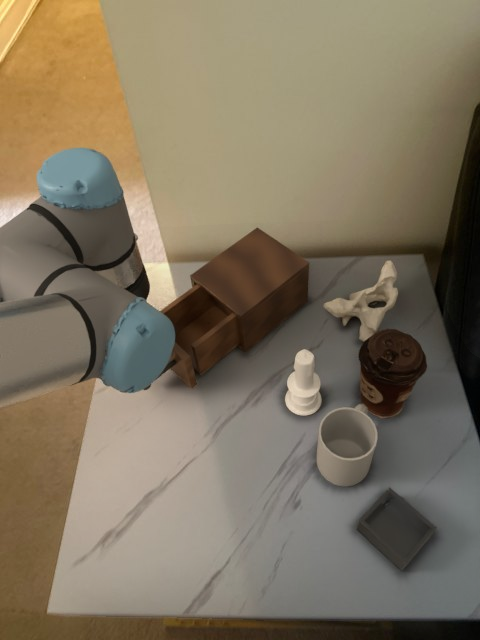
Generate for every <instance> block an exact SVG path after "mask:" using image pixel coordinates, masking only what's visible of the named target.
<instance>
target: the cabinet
mask: <svg viewBox="0 0 480 640" xmlns="http://www.w3.org/2000/svg"><path fill="white" fill-rule="evenodd" d="M189 277H190V283H191V288H192V287H194V286H195V285H197V284H198V285H199V286H200V287H201V288H203V289H204V290H205V291H206V292H208V293H209V294H210V295H211V296H213V297H214V298H215V299H216V300H218V301H219V302H220V303H221V304H222V305H224V306H225V307H226V308H227V309H229V310H230V311H231V312H232V313H234V314H235V315H236V316H237V317H238V322H239V330H240V338H241V343H240V344H239V345H238V346H236V347H237V348H238V349H239V350H241V351H242V352H243V353H244V354H246V353H247V352H249V351H250V350H251V349H252V348H254V347H255V346H256V345H257V344H259V342H261V341H262V340H263V339H264V338H267V336H268V335H269V334H270V333H272V332H273V331H274V330H275V329H277V328H278V327H279V326H280V325H282V323H284V322H285V321H286V320H288V319H289V318H290V317H291V316H292V315H294V314H295V313H296V312H297V311H298V310H300V309H301V308H302V307H303V306H304V305H306V304H307V303H308V302H309V285H310V284H309V283H310V281H309V280H310V262H309V261H308V260H307V259H305V258H304V257H302V256H301V255H299V254H298V253H297V252H295V251H293V250H292V249H290V248H289V247H287V246H286V245H285V244H283V243H282V242H280V241H278V240H276V238H274V237H273V236H271V235H270V234H268V233H266V232H265V231H264V230H262V229H260V228H259V227H258V226H257V227H255V228H254V229H253V230H251V231H250V232H248V233H246V235H244V236H243V237H241V238H240V239H239V240H237V241H236V242H235V243H233V244H232V245H230V246H229V247H228V248H226V249H225V250H223V251H222V252H221V253H219V254H218V255H216V256H215V257H214V258H212V259H211V260H209V261H208V262H207V263H205V264H204V265H202V266H201V267H200V268H198V269H197V270H196V271H194V272H193V273H192V274H190V275H189Z"/></svg>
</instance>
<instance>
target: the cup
mask: <svg viewBox="0 0 480 640" xmlns="http://www.w3.org/2000/svg"><path fill="white" fill-rule="evenodd" d="M368 413H369V411H368V408H367V407H366V406H365V405H364V404H362V403H358V404H357V405H356V406H355V407H354V408H353V407H345V406H344V407H338V408H335V409H333V410H330V411H329V412H327V413H326V414H325V415H324V416H323V418H322V419H321V421H320V423H319V427H318V436H317V446H316V447H317V449H316V466H317V468H318V471H319V473H320V474H321V476H322V477H323V478H324V479H325V480H326V481H327V482H329V483H331V484H332V485H336V486H339V487H351V486H355V485H357V484H359V483H361V482H362V481H363V480H364V479H365V478H366V476H367V475H368V473H369V471H370V468H371V464H372V462H373V461H372V460H373V456H374V454H375V449H376V446H377V442H378V439H379V438H378V430H377V426H376V424H375V422H374V421H373V419H372V418H371V417H370V416H368Z"/></svg>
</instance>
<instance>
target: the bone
mask: <svg viewBox="0 0 480 640" xmlns="http://www.w3.org/2000/svg"><path fill="white" fill-rule="evenodd" d="M397 272H398V271H397V269H396V266H395V264H394V263H393V261H392V260H386V261H385V263H384V265H383V266H382V268H381V270H380V275H379V278H378V281H377V283H376V284H375V285H374V286H372V287H367V288H364V289H363V290H359V291H357V292H352V293H350V294H349V299H345V298H342V297H336V298H334V299H333V300H331V301H327V302H324V304H323V308H324V309H325V310H326V311H327V312H329V313H330V314H331V315H332V316H333V317H335V318H341V320H342V321H341V322H342V326H343V327H345V326H347V324H348V322H349V321H350V320H351V319H352V318H353V317H357V318H358V319H359V320H360V323H361V325H360V327H359V330H358V333H359V337H358V339H359V340H360V342H362V343H364V341H365V340H367V339H368V338H369V337H371V336H372V335H373V334H374V333H376V332H378V331H379V328H380V325H381V323H382V321H383V319H384V317H385V315H386V312H387V311H390V310H392V308H393V307H395V304H396V301H397V299H398V296H399V290H398V288H397V287H394V284H395V283H396V281H397V279H398V273H397ZM380 302H385V303H386V305H385V306H382V307H374V308H373V307H370V306H374V305H376V304H378V303H380Z"/></svg>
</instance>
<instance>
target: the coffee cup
mask: <svg viewBox="0 0 480 640" xmlns="http://www.w3.org/2000/svg"><path fill="white" fill-rule="evenodd" d="M357 356H358V361H359V366H360V373H359V385H360V386H359V388H360V394H359V395H360V402H361V404H364V405H365V406H366V407H367V408H368V413H370V414H372V415H373V416H375V417H378V418H380V419H387V418H393V417H395V416H397V415H399V414H400V413H401V411H402V410H403V408H404V403H405V402H406V401H407V400H408V398H409V396H410V395H411V393H412V392H413V390H414V387H415V385H416V383H417V381H418V380H419V379H420V378H422V376H424V375H425V373H426V372H427V370H428V363H427V356H426V353H425V352H424V349H423V347H422V345H421V344H420V342H419V341H418V340H417V339H416V338H414V337H413V336H412V335H411V334H408V333H406V332H404V331H401V330H398V329H397V328H384V329H381V330H377V332H376V333H374V334H373V335H372V336H371V337H369V338H368V339H367V340H365V341H364V342H362V344H361V346H360V347H359V350H358V355H357Z"/></svg>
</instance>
